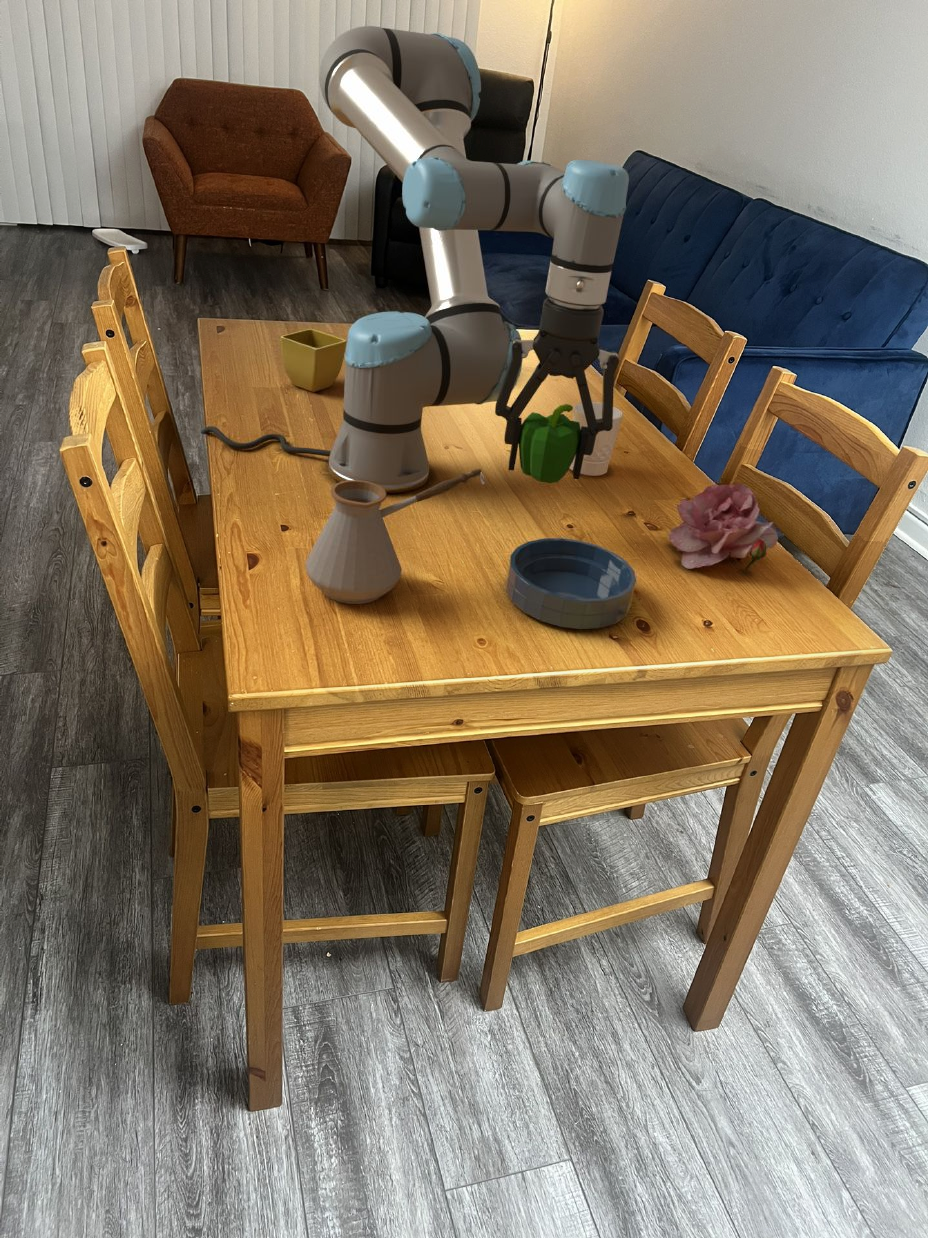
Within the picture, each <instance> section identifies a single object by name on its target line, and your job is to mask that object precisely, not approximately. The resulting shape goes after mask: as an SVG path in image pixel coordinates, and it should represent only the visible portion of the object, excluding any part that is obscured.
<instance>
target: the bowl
mask: <svg viewBox="0 0 928 1238" xmlns="http://www.w3.org/2000/svg"><path fill="white" fill-rule="evenodd" d="M507 568H508V569H507V575H506V581H505V593H506V595H507V596H508V598H509V600H510V602H511V603H512V604H513V605H515V606H516V607H517V608H518V609H519V610H520V611H521V612H523V613H524V614H526V615H528V616H530V617H532V618H534V619H536V620H537V621H540V622H544V623H547V624H551V625H554V626H557V627H560V628H566V629H567V628H568V629H577V630H590V629H591V630H592V629H601V628H605V627H609V626H612V625H616V624H617V623H619V622H620V621H622V620H623V619H624V618H626V617H627V615H628V613H629V611H630V608H631V605H632V602H633V597H634V593H635V588H636V585H637V576H636V572H635V570H634V569H633V567H632V566H631V565H630V564H629V562H628V561H627V560H626V559H624V558H623V557H621V556H619V555H618V554H617V553H616V552H613V551H611V550H609V549H607V548H604V547H602V546H600V545H598V544H594V543H591V542H587V541H583V540H579V539H571V538H563V537H552V538H551V537H549V538H548V537H547V538H545V537H544V538H539V539H534V540H529V541H526V542H524V543H523V544H522V543H521V545H519V546H516V548H515V549H514V550H513V552H511V554H510V555H509V562H508V567H507Z"/></svg>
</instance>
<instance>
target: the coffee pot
mask: <svg viewBox="0 0 928 1238" xmlns="http://www.w3.org/2000/svg"><path fill="white" fill-rule="evenodd" d="M477 477H478V478H479V480H480V482H481V484H482V485H483V486H485V485H487V480H486V478H485V476H484V474H483V471H482V469H481V468H477V469H472V470H471V471H470V472H468V473H465V472H464V473H463V472H462V473H460V475H459V476H457V477H454V478H449V479H446V480H443V481H442V482H439V483H437V484H435V485H432V486H431V487H429V488H427V489H425V490H422V491H421V492H419V493H417V494H414V496H410V497H408V498H406V499H404V500H401V501H398V502H396V503H394V504H391V505H388V506H386V507H384V508H381V505H382V503H384V501H385V500H386V498H387V493H386V492H385V490H384V489H383V488H382V487H380V486H379V485H377V484H374V483H371V482H367V481H360V480H348V481H342V482H337V483H334V484H333V485H332V486H331V488H330V492H329V493H330V497H332V499H333V500H334V504H335V505H334V508H333V509H332V511H331V513H330V515H329V517H328V519H327V520H326V522H325V524H324V526H323V528H322V530H321V532H320V534H319V536H318V538H317V539H316V541H315V543H314V545H313V547H312V549H311V550H310V552H309V554H308V556H307V558H306V562H305V570H306V574H307V576H308V579H309V580H310V581H311V583H312V584H313V586H314V587H316V589H318V590H319V591H320V592H322V593H323V594H324V595H325V596H326V597H328V598H329V599H331V600H334V601H336V602H339V603H341V604H351V605H362V604H368V603H371V602H374V601H376V600H378V599H380V598H381V597H382V596H384V595H385V594H387V593H389V592H390V591H391V590H392V589H393V588H394V587H395V586H396V585H397V583H398V582H399V580H400V578H401V576H402V566H401V562H400V559H399V557H398V555H397V553H396V550H395V547H394V544H393V542H392V539H391V537H390V534H389V531H388V528H387V525H386V523H385V520H384V518H386V517H387V516H389V515H392V514H394V513H396V512H398V511H400V510H403V509H405V508H407V507H409V506H411V505H414V504H416V503H419V502H422V501H424V500H427V499H430V498H432V497H435V496H438V495H441V494H443V493H446V492H449V491H450V490H452V489H454V488H456V487H457V486H458V485H460V484H467V483H468V481H469V480H470V479H474V478H475V479H476V478H477ZM482 478H483V479H482Z"/></svg>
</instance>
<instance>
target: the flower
mask: <svg viewBox="0 0 928 1238" xmlns="http://www.w3.org/2000/svg"><path fill="white" fill-rule="evenodd" d="M760 510H761V509H760V508H759V502H758V500H757V497H756V495H755V493H754V492H753V491H752V489H750V488H749V487H748V486H746V485H745V484H742V483H739V484H721V485H719V484H712V485H708V486H706V487H705V489H704V490H703V491H702V492H700V493H697V495H695V496H693V497H692V499H691V500H688V499H684V498H682V499H681V502H680V503H679V504H677V505H676V511H677V512H678V515H679V517H680V519H681V521H682V522H681V524H679V525H678V526H677V527H675V528H673V529H671V530H670V531H669V533H668V537H669V542H670V543H671V544H672V546H674V547H676V549H677V550H676V551H678V552H682V556H681V559H680V563H681V566H682V567H684V568H685V569H687V570H689V569H692V570H693V569H696V568H697V569H700V568H702V567H703V566H704V567H710V566H713V565H715V564H718V563H720V562H722V561H723V560H725V559H726V558H728V557H729V556H730V557H732V558H736V559H744V558H745V559H746V557H747V556H748V555H749V556H751V560H750V561H749V562H748V564H747V566H746V567H745V570H744V573H746V572H747V571H748V569H750V567H751V566H752V565H753V564H754V563H755V562H756V561H759V560H761V559H762V558H764V557H766V556H767V550H768V549H769V550H770V549H774V547H775V546H776V545H777V543H778V541H779V535H778V532H777V530H775V529H774V528H773V527H772V526H774V524H775V521H770V522H764V523H763V522H761V521H759V520H757V519H758V518H759V515H760Z"/></svg>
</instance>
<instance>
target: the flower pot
mask: <svg viewBox="0 0 928 1238" xmlns="http://www.w3.org/2000/svg"><path fill="white" fill-rule="evenodd" d="M279 339H280V348H281V359H282V365H283V369H284V371H285V374H286V376H287V377H288V379H289V381H290V382H291V384H292V385H293V386H296V387H298V388H301V389H304V390H306V391H309V392H313V393H315V392H318V391H321V390H324V389H327V388H330V387H331V386H332V385H333V384H334V383H335V381H336V380H337V378H338V376H339V375H340V372H341V370H342V367H343V363H344V360H345V351H346V347H347V340H348V339H347V340H346V339H344V338H341V337H339V336H336V335H332V334H330V333H326V332H323V331H320V330H317V329H313V328H307V329H303V330H299V331H295V332H292V333H287V334H283V335H281V336H279Z"/></svg>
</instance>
